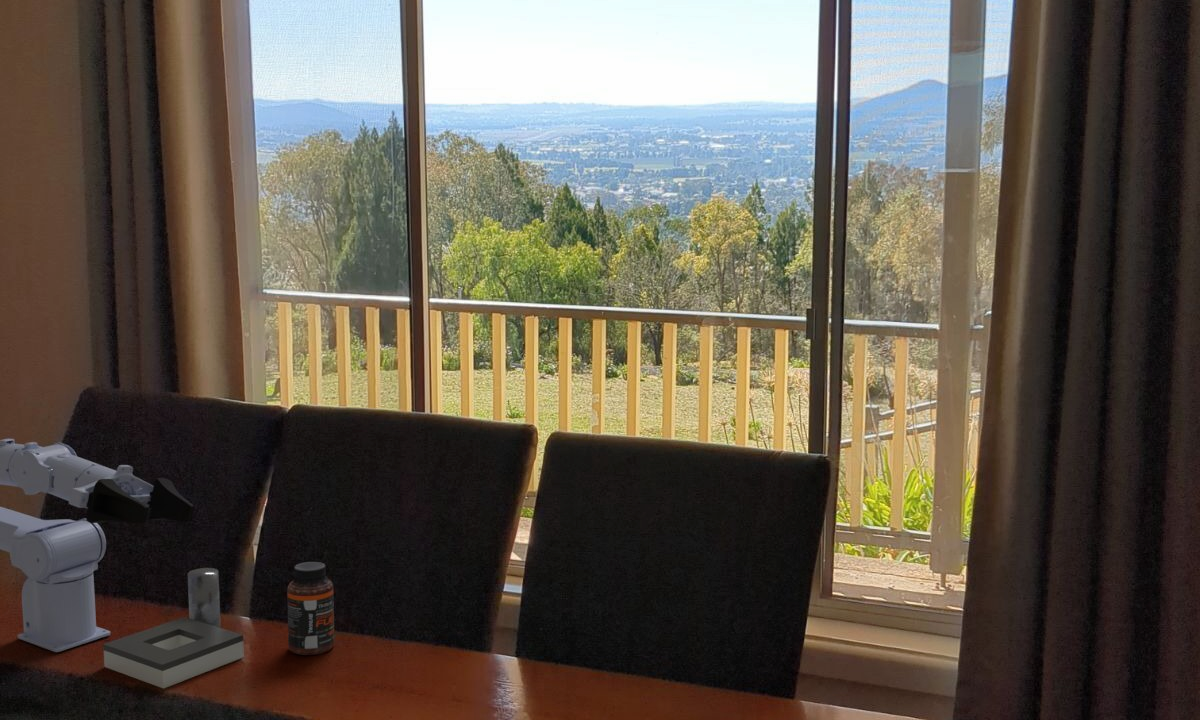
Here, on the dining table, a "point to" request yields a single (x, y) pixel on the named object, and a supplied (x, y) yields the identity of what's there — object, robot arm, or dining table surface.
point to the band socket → (173, 651)
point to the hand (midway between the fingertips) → (168, 514)
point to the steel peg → (204, 596)
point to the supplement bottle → (310, 610)
